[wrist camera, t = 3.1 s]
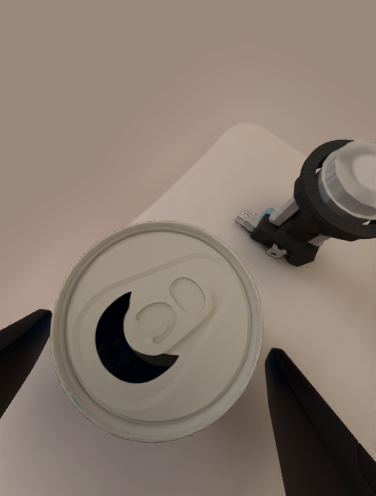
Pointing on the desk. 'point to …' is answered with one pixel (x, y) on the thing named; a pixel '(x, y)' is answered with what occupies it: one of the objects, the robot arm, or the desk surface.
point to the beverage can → (156, 331)
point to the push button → (322, 203)
